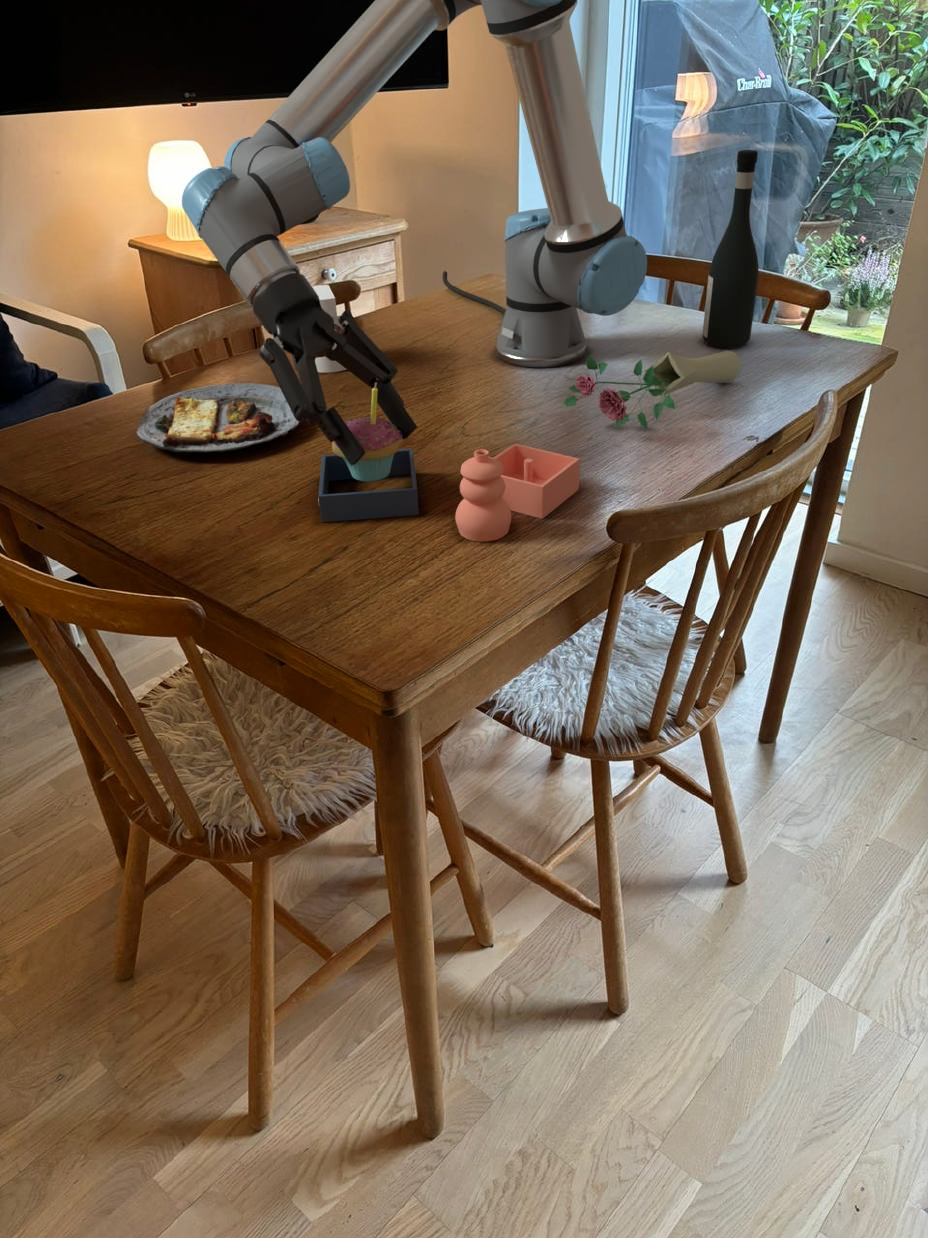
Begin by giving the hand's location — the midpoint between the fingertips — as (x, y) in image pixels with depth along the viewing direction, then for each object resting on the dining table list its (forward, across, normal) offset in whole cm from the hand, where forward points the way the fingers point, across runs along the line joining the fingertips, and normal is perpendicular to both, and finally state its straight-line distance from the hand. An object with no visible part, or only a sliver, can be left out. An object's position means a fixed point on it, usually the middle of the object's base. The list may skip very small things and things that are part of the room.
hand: (385, 445), depth 114 cm
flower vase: (+15, -44, +3) cm, 47 cm away
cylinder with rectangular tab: (-26, -32, -37) cm, 56 cm away
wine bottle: (+10, -78, -2) cm, 79 cm away
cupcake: (+1, 0, -6) cm, 6 cm away
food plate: (-21, -3, -32) cm, 38 cm away
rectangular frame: (+3, 0, -8) cm, 8 cm away
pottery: (+15, -7, +4) cm, 17 cm away
